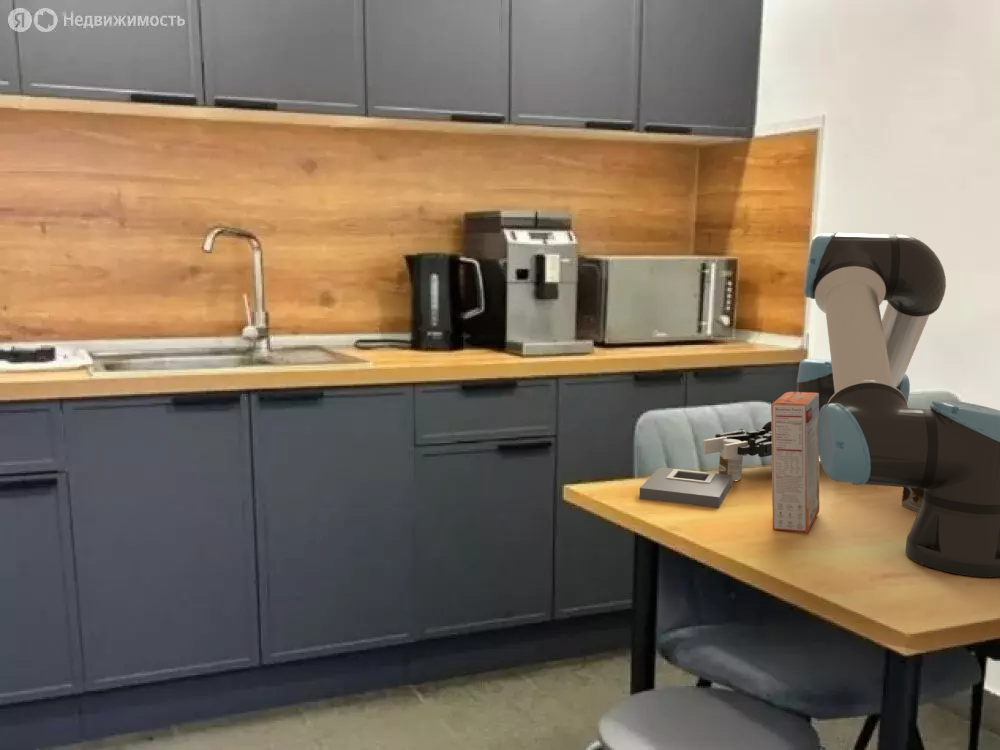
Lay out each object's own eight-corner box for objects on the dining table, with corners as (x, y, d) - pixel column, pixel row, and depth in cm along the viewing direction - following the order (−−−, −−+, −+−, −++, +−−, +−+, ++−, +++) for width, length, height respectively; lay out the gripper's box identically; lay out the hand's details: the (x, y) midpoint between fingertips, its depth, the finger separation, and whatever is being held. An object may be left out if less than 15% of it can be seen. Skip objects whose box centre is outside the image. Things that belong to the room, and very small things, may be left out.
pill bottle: (715, 476, 188) (717, 438, 186) (736, 476, 188) (739, 438, 187) (722, 481, 183) (725, 442, 182) (744, 481, 184) (747, 442, 183)
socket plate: (718, 508, 164) (719, 495, 164) (639, 498, 169) (639, 486, 168) (731, 485, 181) (732, 474, 180) (659, 477, 185) (659, 466, 185)
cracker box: (784, 510, 164) (784, 390, 162) (820, 513, 161) (821, 391, 159) (769, 530, 152) (769, 401, 149) (808, 534, 149) (809, 402, 147)
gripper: (821, 462, 190) (750, 477, 175) (749, 447, 203) (678, 460, 188) (824, 426, 189) (753, 438, 174) (751, 412, 202) (680, 423, 187)
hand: (714, 449), depth 181 cm, fingers closed on pill bottle, 4 cm apart
